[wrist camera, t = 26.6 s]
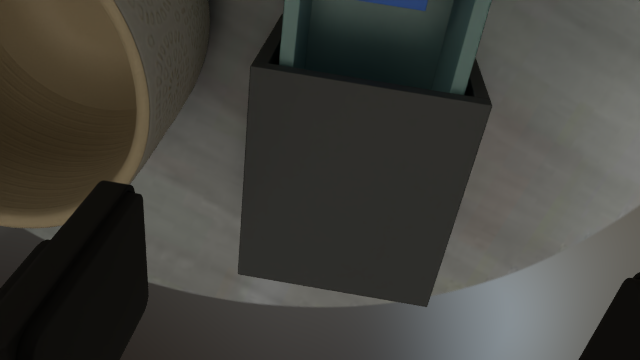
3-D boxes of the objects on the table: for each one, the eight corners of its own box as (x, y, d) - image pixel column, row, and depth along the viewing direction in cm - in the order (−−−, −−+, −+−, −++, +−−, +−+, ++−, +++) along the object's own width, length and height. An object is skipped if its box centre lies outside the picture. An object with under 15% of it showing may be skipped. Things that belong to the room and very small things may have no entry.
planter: (36, -230, 31) (-212, -268, 18) (284, -33, 35) (221, 48, 23) (-48, 10, 39) (-259, 99, 27) (161, 147, 44) (64, 280, 31)
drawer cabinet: (281, 13, 37) (250, 66, 29) (470, 44, 37) (492, 105, 28) (265, 193, 45) (237, 274, 37) (421, 220, 44) (427, 307, 36)
